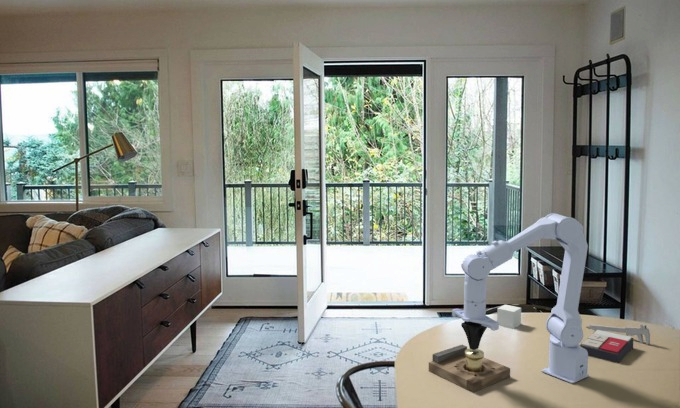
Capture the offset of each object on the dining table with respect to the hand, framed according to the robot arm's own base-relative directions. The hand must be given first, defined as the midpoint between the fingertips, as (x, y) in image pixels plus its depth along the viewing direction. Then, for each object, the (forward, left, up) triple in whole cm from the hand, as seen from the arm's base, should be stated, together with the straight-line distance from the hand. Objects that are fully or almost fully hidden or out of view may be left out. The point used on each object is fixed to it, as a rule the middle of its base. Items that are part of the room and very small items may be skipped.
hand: (474, 348), depth 144 cm
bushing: (0, 0, -8) cm, 8 cm away
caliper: (-7, -61, -8) cm, 62 cm away
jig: (+2, 0, -8) cm, 8 cm away
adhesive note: (+21, -42, -8) cm, 48 cm away
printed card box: (-12, -46, -9) cm, 49 cm away
